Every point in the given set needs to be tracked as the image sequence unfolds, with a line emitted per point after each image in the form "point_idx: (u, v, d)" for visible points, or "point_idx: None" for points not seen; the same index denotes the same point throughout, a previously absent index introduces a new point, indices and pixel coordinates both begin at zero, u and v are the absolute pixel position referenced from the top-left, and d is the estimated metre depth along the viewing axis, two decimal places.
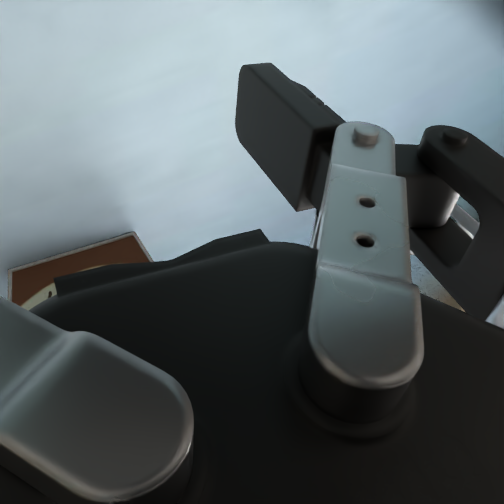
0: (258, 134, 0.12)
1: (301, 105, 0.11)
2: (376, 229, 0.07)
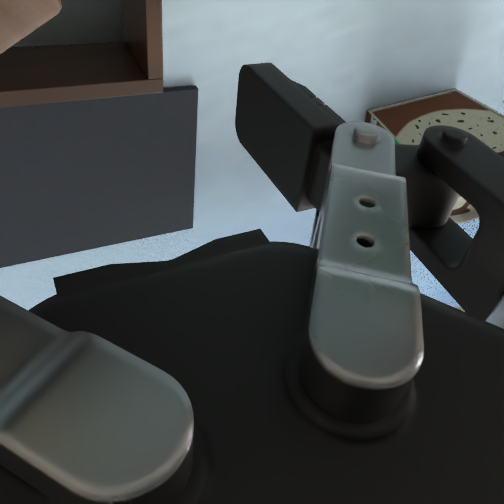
0: (259, 134, 0.12)
1: (301, 105, 0.11)
2: (376, 229, 0.07)
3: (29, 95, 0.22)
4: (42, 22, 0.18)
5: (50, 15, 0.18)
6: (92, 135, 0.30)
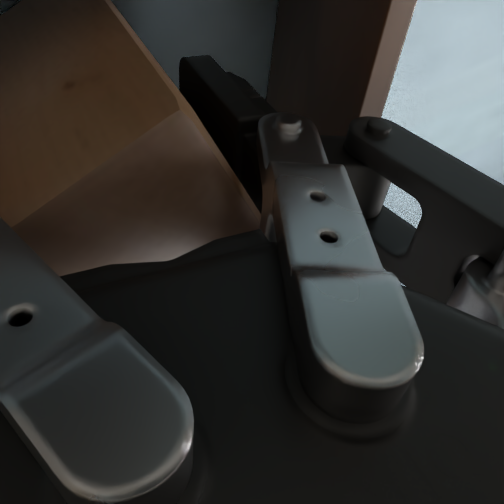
0: None
1: (231, 96, 0.11)
2: (334, 222, 0.07)
3: None
4: None
5: None
6: None
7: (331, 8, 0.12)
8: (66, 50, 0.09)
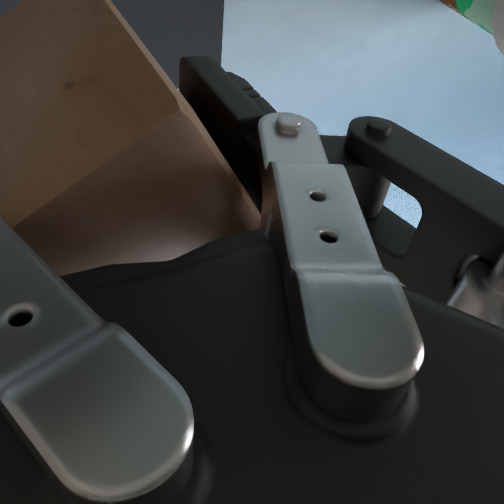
0: None
1: (231, 96, 0.11)
2: (334, 222, 0.07)
3: None
4: None
5: None
6: None
7: None
8: (66, 50, 0.09)
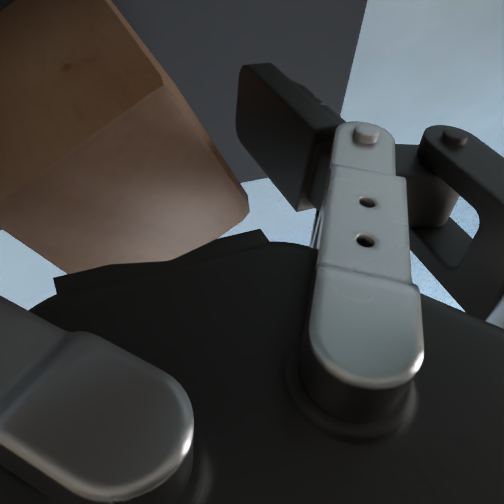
0: (258, 134, 0.12)
1: (301, 105, 0.11)
2: (376, 229, 0.07)
3: None
4: (219, 235, 0.11)
5: (232, 225, 0.11)
6: None
7: None
8: (64, 37, 0.10)
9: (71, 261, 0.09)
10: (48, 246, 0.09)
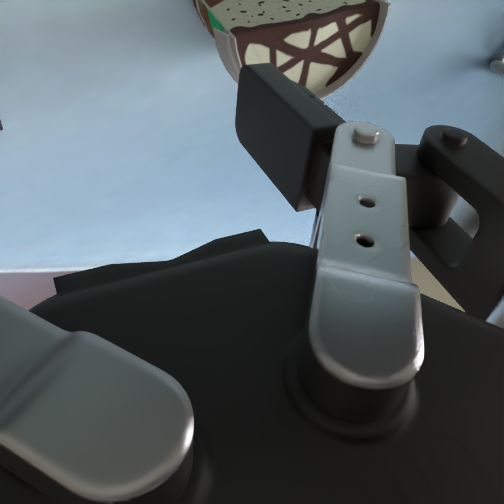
0: (258, 134, 0.12)
1: (301, 105, 0.11)
2: (376, 229, 0.07)
3: None
4: None
5: None
6: None
7: None
8: None
9: None
10: None
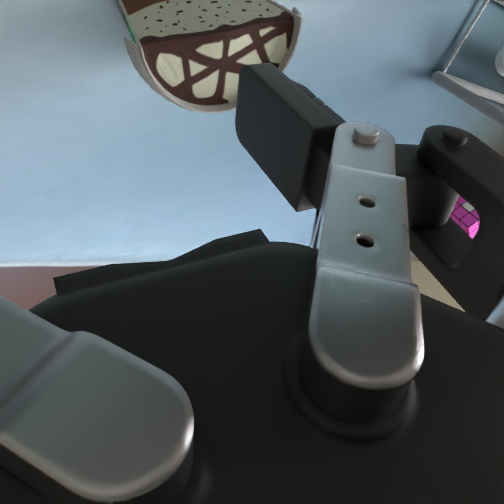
0: (259, 134, 0.12)
1: (301, 105, 0.11)
2: (376, 229, 0.07)
3: None
4: None
5: None
6: None
7: None
8: None
9: None
10: None
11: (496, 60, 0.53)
